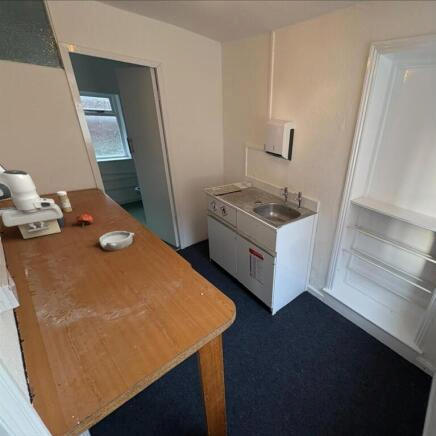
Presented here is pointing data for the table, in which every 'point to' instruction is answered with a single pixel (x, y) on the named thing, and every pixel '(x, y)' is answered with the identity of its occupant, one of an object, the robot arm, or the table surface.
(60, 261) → the table surface
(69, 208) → the sprinkles bottle
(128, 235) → the dish
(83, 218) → the red mushroom
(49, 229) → the drawer
